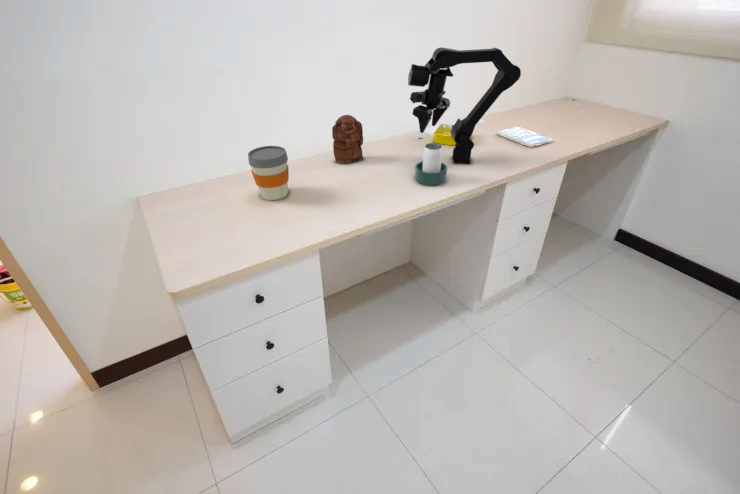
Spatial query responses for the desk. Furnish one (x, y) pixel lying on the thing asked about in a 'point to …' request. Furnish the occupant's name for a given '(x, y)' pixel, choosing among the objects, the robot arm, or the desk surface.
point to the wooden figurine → (347, 140)
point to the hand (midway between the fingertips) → (427, 129)
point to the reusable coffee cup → (270, 171)
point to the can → (432, 158)
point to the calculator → (524, 136)
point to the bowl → (430, 175)
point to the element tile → (444, 135)
